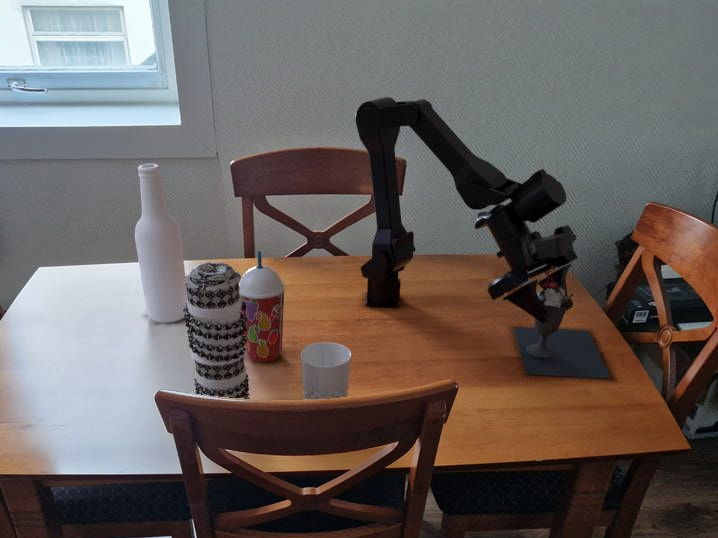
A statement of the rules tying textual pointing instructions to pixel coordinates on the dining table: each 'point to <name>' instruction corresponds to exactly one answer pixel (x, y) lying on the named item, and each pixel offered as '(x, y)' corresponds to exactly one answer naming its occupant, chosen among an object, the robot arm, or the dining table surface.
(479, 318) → the dining table surface
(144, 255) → the alcohol
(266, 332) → the smoothie
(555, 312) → the sundae
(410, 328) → the dining table surface
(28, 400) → the dining table surface
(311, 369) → the white cup
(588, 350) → the dark blue rectangular panel
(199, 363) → the decorative candle
